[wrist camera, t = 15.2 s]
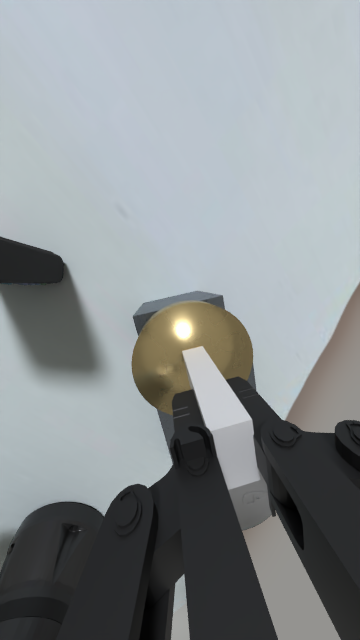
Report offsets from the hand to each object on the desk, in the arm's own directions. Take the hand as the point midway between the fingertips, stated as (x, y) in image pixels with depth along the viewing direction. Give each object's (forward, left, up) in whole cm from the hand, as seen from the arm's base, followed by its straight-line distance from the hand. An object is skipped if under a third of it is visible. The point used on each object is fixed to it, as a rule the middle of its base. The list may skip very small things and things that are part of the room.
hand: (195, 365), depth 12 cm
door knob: (0, 0, -10) cm, 10 cm away
